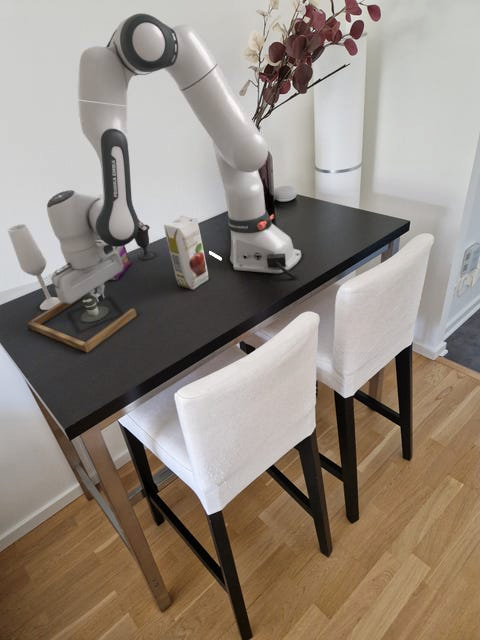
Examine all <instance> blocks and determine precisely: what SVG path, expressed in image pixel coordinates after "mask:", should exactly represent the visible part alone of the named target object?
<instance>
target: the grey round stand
mask: <svg viewBox="0 0 480 640" xmlns="http://www.w3.org/2000/svg"><path fill="white" fill-rule="evenodd" d="M82 303H83V306H84V307H85V309H86V310H85V311H83V313H81V315H80V320H81V321H82V322H83V323H95V322H99V321H100V320H102V319H103V318H106V317H107V315H108V314H109V312H110V308H109V307H107V306H105V305H104V306H103V305H99V306H98V303H96V299H95V298H94V297H91V296H88V297H86V298H84V299H83V300H82Z"/></svg>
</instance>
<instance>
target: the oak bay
mask: <svg viewBox="0 0 480 640" xmlns="http://www.w3.org/2000/svg"><path fill="white" fill-rule="evenodd" d="M82 299H83V296H82V297H81V298H79V299H78V300H76V301H75V302H73V303H71V304H66V303H63V302H60V303H59V304H57V305H55V306H54V307H52V308H50V309H49V310H45V311H44V312H42V313H41V314H39V315H38V316H35V318H33V319H31V320H29V321H28V322H27V323H26V324H27V326H28V328H29V329H30V330H31V331H34V332H36V333H39V334H41V335H44V336H46V337H49V338H51V339H54V340H56V341H58V342H61V343H63V344H65V345H68V346H70V347H73V348H74V349H77V350H80V351H81V352H82V351H83V352H85V353H86V354H87V353H89V352H90V351H93V349H95V348H96V347H97V346H99V345H100V344H102V342H104V341H105V340H106V339H107V338H109V337H110V336H112V335H114V333H116V332H117V331H118V330H120V329H121V328H123V327H124V326H125V325H126V324H128V323H129V322H131V321H132V320H133V319H134V318H136V317H137V316H138V314H137V312H136V309H135V308H130V309H129V310H127V312H125V313H124V314H122V315H121V316H120V317H118V318H117V319H115V320H114V321H113V322H111V323H110V324H109V325H107V326H106V327H104V328H103V329H102V330H100V331H99V332H98V333H96V334H95V335H94V336H92V337H91V338H89V339H87V341H86V342H85V341H83V340H81V339H79V338H78V339H77V338H76V337H72V336H70V335H68V334H65V333H63V332H60V331H58V330H55V329H53V328H50V327H47V326H45V325H43V324H44V323H45V322H47V321H49V320H50V319H52V318H53V317H55V316H56V315H59V314H60V313H62V312H63V311H64V310H66V309H68V308H69V307H71V306H72V305H74V304H75V303H77V302H78V301H80V300H82Z"/></svg>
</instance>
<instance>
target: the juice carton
mask: <svg viewBox="0 0 480 640" xmlns="http://www.w3.org/2000/svg"><path fill="white" fill-rule="evenodd" d="M163 228H164V233H165V234H164V235H165V239H166V242H167V247H168V251H169V255H170V260H171V263H172V267H173V272H174V275H175V276H174V277H175V279H176V282H177V284H178V286H180V287H183V288H185V289H188V290H195V289H197V288H198V287H199V286H201V285H203V284H204V283H206V282H207V281H208V280H209V271H208V267H207V261H206V256H205V251H204V246H203V241H202V235H201V231H200V226H199V221H198V218H195V217H190V216H185V215H180V216H179V217H176V219H174V220H173V221H170V222H168V223H165V224H163Z"/></svg>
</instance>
